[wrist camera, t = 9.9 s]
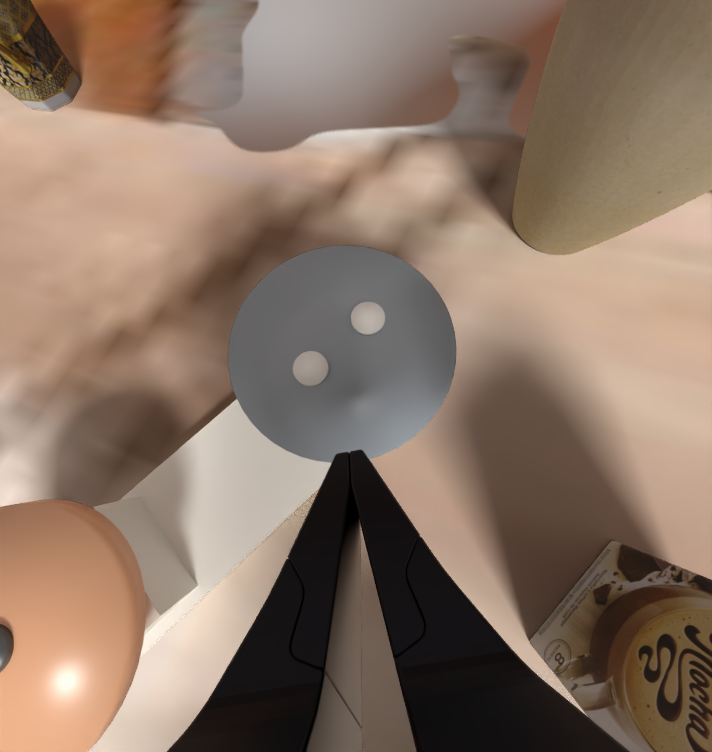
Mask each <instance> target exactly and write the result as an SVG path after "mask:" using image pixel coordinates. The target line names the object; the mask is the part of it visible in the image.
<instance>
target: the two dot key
mask: <svg viewBox="0 0 712 752" xmlns="http://www.w3.org/2000/svg"><path fill="white" fill-rule="evenodd" d="M228 363H229V373H230V378H231V384H232V387H233V390H234V392H235V395H236V398H237V400H238V402H239V404H240V406H241V408H242V410H243V411H244V413H245V414H246V416H247V417H248V419H249V420H250V421H251V423H252V424H253V425H254V426H255V427H256V428H257V429H258V430H259V431H260V432H261V433H262V434H263V435H264V436H265V437H267V438H268V439H269V440H270V441H272V442H273V443H274V444H276V445H278V446H279V447H281V448H283V449H285V450H286V451H288V452H291V453H293V454H296V455H298V456H300V457H304V458H307V459H311V460H315V461H321V462H330V463H332V461H333V459H334V457H335V455H336V454H337V453H342V452H349V453H350V451H354V450H360V449H361V450H363V451H364V453H365V454H366V455H367V457H368V458H369V459H371V458H374V457H377V456H381V455H383V454H385V453H388V452H390V451H392V450H394V449H396V448H398V447H399V446H401V445H403V444H404V443H406V442H407V441H409V440H410V439H412V438H413V437H414V436H415V435H416V434H418V433H419V432H420V431H421V430H422V429H423V428H424V427H425V426H426V425H427V424H428V423H429V421H430V420H431V419H432V418H433V417H434V415H435V414H436V412H437V411H438V409H439V408H440V406H441V405H442V403H443V401H444V399H445V397H446V395H447V393H448V391H449V388H450V385H451V382H452V379H453V375H454V369H455V363H456V340H455V332H454V328H453V324H452V320H451V317H450V315H449V312H448V310H447V307H446V305H445V303H444V302H443V300H442V298H441V296H440V295H439V293H438V292H437V291H436V289H435V288H434V287H433V285H432V284H431V283H430V282H429V281H428V280H427V279H426V278H425V277H424V276H423V275H422V274H421V273H420V272H419V271H418V270H416V269H415V268H414V267H412V266H411V265H410V264H408V263H406V262H405V261H403V260H401V259H399V258H398V257H395V256H393V255H391V254H388V253H386V252H383V251H380V250H376V249H373V248H367V247H362V246H349V245H342V246H330V247H324V248H318V249H315V250H311V251H308V252H305V253H302V254H300V255H297V256H295V257H293V258H291V259H289V260H287V261H286V262H284V263H282V264H280V265H279V266H278V267H276V268H275V269H273V270H272V271H271V272H269V273H268V274H267V275H266V276H265V277H264V278H263V279H262V280H261V281H260V282H259V283H258V284H257V285H256V286H255V287H254V288H253V290H252V291H251V292H250V294H249V295H248V296H247V298H246V299H245V301H244V302H243V304H242V306H241V308H240V310H239V312H238V314H237V316H236V319H235V322H234V325H233V327H232V332H231V336H230V341H229V351H228Z"/></svg>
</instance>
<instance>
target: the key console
mask: <svg viewBox="0 0 712 752" xmlns="http://www.w3.org/2000/svg"><path fill="white" fill-rule="evenodd" d="M330 465H331V463H330V462H321V461H315V460H311V459H307V458H304V457H300V456H298V455H296V454H293V453H291V452H288V451H286V450H285V449H283V448H281V447H279V446H278V445H276V444H274V443H273V442H272V441H270V440H269V439H268V438H267V437H265V436H264V435H263V434H262V433H261V432H260V431H259V430H258V429H257V428H256V427H255V426H254V425H253V424H252V423H251V421H250V420H249V419H248V417H247V416H246V414H245V413H244V411H243V410H242V408H241V406H240V404H239V402H238V400H237V399H236V400H235V401H234V402H233V403H231V404H230V405H229V406H228V407H227V408H226V409H224V410H223V411H222V412H221V413H220V414H219V415H217V416H216V417H215V418H214V419H213V420H212V421H211V422H209V423H208V424H207V425H206V426H205V427H204V428H202V429H201V430H200V431H199V432H198V433H197V434H195V435H194V436H193V437H192V438H191V439H190V440H188V441H187V442H186V443H185V444H184V445H183V446H181V447H180V448H179V449H178V450H177V451H176V452H174V453H173V454H172V455H171V456H170V457H169V458H167V459H166V460H165V461H164V462H163V463H162V464H160V465H159V466H158V467H157V468H156V469H155V470H154V471H152V472H151V473H150V474H149V475H148V476H147V477H145V478H144V479H143V480H142V481H141V482H140V483H138V484H137V485H136V486H135V487H134V488H133V489H131V490H130V491H129V492H128V493H127V494H126V495H124V496H123V497H122V498H121V499H120V500H119V501H117V502H112V503H107V504H103V505H98V506H94V507H92V509H94V510H96V511H98V512H100V513H101V514H102V515H104V516H105V517H107V518H108V519H109V520H110V521H111V522H112V523H113V524H114V525H115V526H116V527H117V528H118V529H119V530H120V531H121V533H122V534H123V535H124V537H125V538H126V540H127V541H128V543H129V545H130V546H131V548H132V550H133V552H134V554H135V556H136V559H137V562H138V565H139V568H140V570H141V575H142V580H143V584H144V591H145V601H146V625H145V632H144V640H143V646H142V651H141V655H140V658H141V657H142V656H143V655H144V654H145V653H146V652H147V651H148V650H149V649H150V648H151V647H152V646H153V645H154V644H155V643H156V642H158V641H159V640H160V639H161V638H162V637H163V636H164V635H165V634H166V633H167V632H168V631H169V630H170V629H171V628H172V627H173V626H174V625H175V624H176V623H178V622H179V621H180V620H181V619H182V618H183V617H184V616H185V615H186V614H187V613H188V612H189V611H190V610H191V609H192V608H193V607H194V606H195V605H196V604H198V603H199V602H200V601H201V600H202V599H203V598H204V597H205V596H206V595H207V594H208V593H209V592H210V591H211V590H212V589H213V588H214V587H215V586H216V585H218V584H219V583H220V582H221V581H222V580H223V579H224V578H225V577H226V576H227V575H228V574H229V573H230V572H231V571H232V570H233V569H234V568H235V567H236V566H238V565H239V564H240V563H241V562H242V561H243V560H244V559H245V558H246V557H247V556H248V555H249V554H250V553H251V552H252V551H253V550H254V549H255V548H256V547H258V546H259V545H260V544H261V543H262V542H263V541H264V540H265V539H266V538H267V537H268V536H269V535H270V534H271V533H272V532H273V531H274V530H275V529H276V528H278V527H279V526H280V525H281V524H282V523H283V522H284V521H285V520H286V519H287V518H288V517H289V516H290V515H291V514H292V513H293V512H294V511H295V510H296V509H298V508H299V507H300V506H301V505H302V504H303V503H304V502H305V501H306V500H307V499H308V498H309V497H310V496H311V495H312V494H313V493H314V492H315V491H316V490H318V489H319V488H320V487H321V484H322V482H323V480H324V478H325V476H326V474H327V472H328V469H329V467H330Z"/></svg>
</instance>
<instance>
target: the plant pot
mask: <svg viewBox="0 0 712 752" xmlns="http://www.w3.org/2000/svg"><path fill="white" fill-rule="evenodd" d="M710 190H712V0H566V3H565V6H564V8H563V11H562V14H561V18H560V20H559V23H558V26H557V30H556V33H555V36H554V39H553V42H552V45H551V48H550V52H549V55H548V58H547V61H546V65H545V68H544V72H543V75H542V79H541V82H540V86H539V89H538V93H537V96H536V100H535V103H534V107H533V111H532V115H531V119H530V123H529V127H528V131H527V135H526V139H525V144H524V148H523V153H522V157H521V162H520V167H519V172H518V177H517V183H516V189H515V196H514V202H513V211H512V220H513V225H514V228H515V229H516V231H517V233H518V235H519V236H520V237H521V238H522V239H523V240H524V241H525V242H526V243H527V244H528V245H530V246H531V247H533V248H534V249H537V250H539V251H541V252H544V253H548V254H554V255H566V254H572V253H575V252H578V251H581V250H583V249H586V248H589V247H591V246H594V245H596V244H599V243H601V242H603V241H606V240H608V239H611V238H613V237H615V236H618V235H620V234H622V233H624V232H627V231H629V230H631V229H633V228H635V227H638V226H640V225H642V224H644V223H646V222H648V221H650V220H652V219H655V218H657V217H659V216H661V215H663V214H665V213H667V212H669V211H671V210H673V209H675V208H677V207H679V206H681V205H683V204H685V203H687V202H689V201H691V200H692V199H694V198H696V197H698V196H700V195H702V194H704V193H706V192H708V191H710Z"/></svg>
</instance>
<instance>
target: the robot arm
mask: <svg viewBox="0 0 712 752" xmlns="http://www.w3.org/2000/svg"><path fill="white" fill-rule="evenodd" d="M360 524H361V528H362V532H363V536H364V540H365V544H366V548H367V552H368V556H369V560H370V564H371V568H372V572H373V576H374V580H375V585H376V589H377V593H378V597H379V601H380V605H381V609H382V613H383V617H384V621H385V625H386V629H387V633H388V637H389V641H390V645H391V649H392V653H393V657H394V661H395V666H396V670H397V674H398V678H399V682H400V686H401V690H402V694H403V698H404V702H405V706H406V710H407V714H408V718H409V722H410V726H411V730H412V734H413V738H414V743H415V747H416V751H417V752H630V751H629V750H628V749H626V748H625V747H624V746H623V745H622V744H620V743H619V742H618V741H617V740H615V739H614V738H613V737H612V736H611V735H609V734H608V733H607V732H606V731H604V730H603V729H602V728H601V727H600V726H598V725H597V724H596V723H595V722H594V721H592V720H591V719H590V718H589V717H587V716H586V715H585V714H584V713H583V712H581V711H580V710H579V709H578V708H576V707H575V706H574V705H573V704H572V703H570V702H569V701H568V700H567V699H566V698H564V697H563V696H562V695H561V694H559V693H558V692H557V691H556V690H555V689H553V688H552V687H551V686H550V685H548V684H547V683H546V682H545V681H544V680H542V679H541V678H540V677H539V676H538V675H537V674H536V673H535V672H534V671H532V670H531V669H530V668H529V667H528V666H527V665H526V664H525V663H524V662H523V661H522V660H521V659H520V657H519V656H518V655H517V654H516V653H515V652H514V651H513V650H512V649H511V648H510V647H509V646H508V644H507V643H506V642H505V641H504V640H503V639H502V638H501V636H500V635H499V634H498V633H497V632H496V630H495V629H494V628H493V627H492V626H491V625H490V623H489V622H488V621H487V620H486V619H485V618H484V616H483V615H482V614H481V613H480V612H479V611H478V609H477V608H476V607H475V606H474V605H473V604H472V602H471V601H470V600H469V599H468V598H467V596H466V595H465V594H464V593H463V592H462V591H461V589H460V588H459V587H458V586H457V585H456V583H455V582H454V581H453V580H452V578H451V577H450V576H449V575H448V573H447V572H446V571H445V570H444V568H443V567H442V566H441V564H440V563H439V561H438V560H437V559H436V557H435V556H434V555H433V553H432V552H431V550H430V549H429V547H428V546H427V544H426V543H425V541H424V540H423V539H422V537H420V534H419V533H418V531H417V530H416V528H415V527H414V525H413V524H412V522H411V521H410V519H409V518H408V516H407V515H406V513H405V512H404V511H403V509H402V508H401V506H400V505H399V503H398V502H397V500H396V499H395V497H394V496H393V494H392V493H391V491H390V490H389V488H388V487H387V485H386V484H385V482H384V481H383V479H382V478H381V476H380V475H379V473H378V472H377V470H376V469H375V467H374V466H373V464H372V463H371V461H370V460H369V458H368V457H367V455H366V454H365V453H364V451H363V450H361V449H360V450H354V451H350V453H349V452H342V453H337V454H336V455H335V457H334V459H333V461H332V463H331V465H330V467H329V469H328V472H327V474H326V476H325V478H324V480H323V482H322V484H321V487H320V489H319V491H318V493H317V495H316V497H315V499H314V502H313V504H312V506H311V508H310V510H309V512H308V514H307V516H306V519H305V521H304V523H303V525H302V527H301V529H300V531H299V534H298V536H297V538H296V540H295V542H294V544H293V546H292V549H291V551H290V553H289V555H288V559H287V560H286V561H285V563H284V565H283V567H282V570H281V572H280V574H279V576H278V578H277V580H276V582H275V584H274V586H273V588H272V590H271V592H270V594H269V596H268V598H267V600H266V601H265V603H264V605H263V607H262V609H261V610H260V612H259V614H258V616H257V618H256V619H255V621H254V623H253V625H252V626H251V628H250V630H249V631H248V633H247V635H246V637H245V638H244V640H243V642H242V643H241V645H240V647H239V648H238V650H237V652H236V654H235V655H234V657H233V659H232V660H231V662H230V664H229V666H228V667H227V669H226V671H225V672H224V674H223V676H222V678H221V679H220V681H219V683H218V684H217V686H216V688H215V689H214V691H213V693H212V694H211V696H210V698H209V699H208V701H207V702H206V704H205V705H204V707H203V708H202V710H201V711H200V713H199V714H198V715H197V717H196V718H195V719H194V721H193V722H192V723H191V725H190V726H189V727H188V728H187V730H186V731H185V732H184V733H183V734H182V736H181V737H180V738H179V739H178V740H177V741H176V742H175V743H174V744H173V745H172V747H171V748H170V749H169V750H168V751H167V752H362V729H361V728H362V661H361V541H360Z"/></svg>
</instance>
